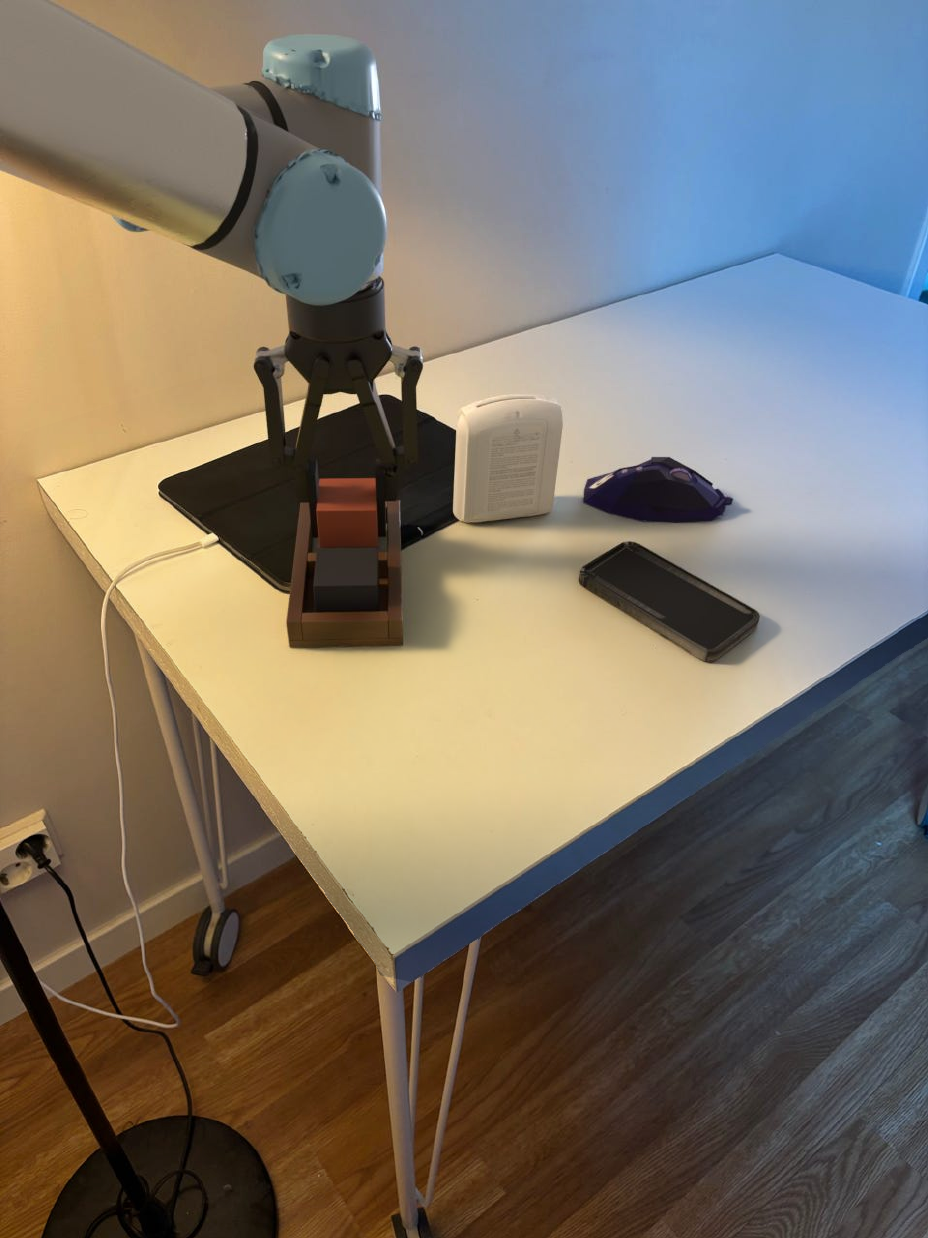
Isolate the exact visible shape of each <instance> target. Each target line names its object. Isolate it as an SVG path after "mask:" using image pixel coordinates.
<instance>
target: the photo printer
mask: <svg viewBox="0 0 928 1238" xmlns="http://www.w3.org/2000/svg"><path fill="white" fill-rule="evenodd" d="M563 421H564V419H563V411H562V406H561V404H560V403H558V401H557V399H555V398H552V397H549V396H545V395H539V394H530V393H529V394H528V393H527V394H526V393H524V394H523V393H517V394H515V393H513V394H504V395H497V396H492V397H488V398H484V399H481V400H477V401H474V402H472V403H469V404H468V405H465V406H463V407H461V408H460V409H459V411H458V414H457V424H456V432H455V455H454V456H455V457H454V473H453V474H454V477H453V478H454V479H453V498H452V499H453V500H452V513H453V515H454V517H455V518H456V519H457V520H459V522H462V523H482V522H492V521H500V520H501V521H502V520H507V519H517V518H524V517H533V516H538V515H540V516H541V515H545V514H550V513H551V512H552V511H553V507H554V501H555V492H556V484H557V475H558V468H559V458H560V451H561V444H562V434H563V427H564V426H563V425H564V423H563Z"/></svg>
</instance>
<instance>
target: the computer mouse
mask: <svg viewBox="0 0 928 1238" xmlns="http://www.w3.org/2000/svg"><path fill="white" fill-rule="evenodd" d="M713 485H714V483H713V482H711V481H710V480H708V478H706V477H704V476H703V475H702V474H700V473H699V472H698V471H696V470H695V469H694V468H693V469H692V467H689V466H687V465H685V464H683V463H681V462H680V461H678V460H676V459H674V458H673V457H670V456H651V458H650V459H648V460H646V461H643V462H641V463H639V464H636V465H632V466H627V467H621V468H618V469H616V470H614V471H611V472H607V473H603V474H601V475H597V476H594V477H590V478H587V479H586V482H585V485H584V489H583V497H582V503H584V504H587V505H589V506H591V507H593V508H595V509H598V510H600V511H603V512H605V513H608V514H611V515H615V516H620V517H623V518H628V519H632V520H635V521H636V520H637V521H640V522H655V523H694V522H710V521H711V522H712V521H713V520H716V519H717V518H719V517H723V515H724V513H725V511H726V507H727V506H733V505H732V504H733V501H734V498H733V497H731V496H725V494H724V493H723V492H722V490H720V489H719V488H714V487H713Z"/></svg>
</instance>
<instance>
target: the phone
mask: <svg viewBox="0 0 928 1238" xmlns="http://www.w3.org/2000/svg"><path fill="white" fill-rule="evenodd" d="M578 583H579V585H580V586H581V587H582V588H584V589H586V590H587V591H589V592H590V593H592V594H593V595H595V596H596V597H599V598H600V599H601V600H604V601H605V602H606V603H608V604H610V605H612V606H613V607H614V608H617V609H618V610H619V611H621V612H622V613H624V614H626V615H627V616H629V617H631V618H632V619H634V620H636V621H637V622H638V623H640V624H642V625H644V626H645V627H647V628H648V629H649V630H651V631H653V632H655V633H656V634H658V635H659V636H661V637H662V638H664V639H666V640H668V641H669V642H671V643H672V644H674V645H676V646H678V647H679V648H680V649H682V650H684V651H685V652H686V653H689V654H690V655H692V656H693V657H695V658H696V659H698V660H700V661H702V662H708V663H711V662H715V661H718V660H719V659H721V658H722V657H723V656H724V655H726V654H727V653H729V652H730V651H731V650H732V649H734V648H735V647H736V646H737V645H738V644H740V643H741V642H742V641H744V640H746V638H747V637H749V636H750V635H752V634H753V633H754V632H755V631H756V630H757V629H758V625H759V622H760V618H761V615H760V613H759V612H758V610H756V609H755V608H753V607H751V606H749V604H746V603H744V602H743V601H741V600H739V599H737V598H736V597H734V596H732V595H730V594H728V593H727V592H725V591H723V590H721V589H720V588H718V587H716V586H714V585H713V584H711V583H709V582H707V581H705V580H704V579H703V578H700V577H698V576H697V575H695V574H693V573H692V572H690V571H688V570H687V569H685V568H682V566H679V565H677V564H675V563H674V562H672V561H670V560H668V559H667V558H665V557H663V556H661V555H660V554H658V553H656V552H654V551H653V550H651V549H649V548H647V547H645V546H644V545H642V544H640V543H638V542H636V541H631V540H629V541H628V540H625V541H622V542H620V543H618V544H617V545H616V546H614V547H612V548H611V549H609V550H607V551H606V552H604V553H602V554H601V555H599V556H597V557H596V558H594V559H592V560H591V561H589V562H587V563H585V564H583V566H582V567H580V568H579V575H578Z"/></svg>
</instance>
